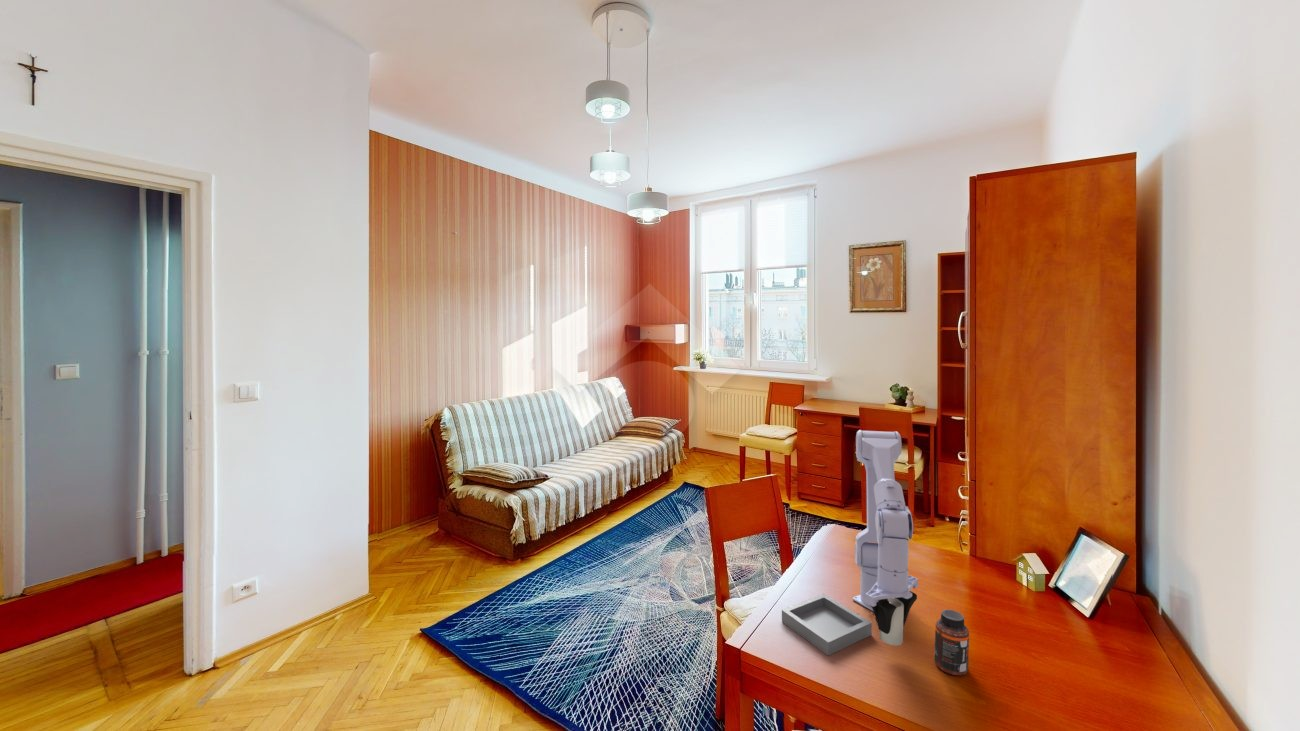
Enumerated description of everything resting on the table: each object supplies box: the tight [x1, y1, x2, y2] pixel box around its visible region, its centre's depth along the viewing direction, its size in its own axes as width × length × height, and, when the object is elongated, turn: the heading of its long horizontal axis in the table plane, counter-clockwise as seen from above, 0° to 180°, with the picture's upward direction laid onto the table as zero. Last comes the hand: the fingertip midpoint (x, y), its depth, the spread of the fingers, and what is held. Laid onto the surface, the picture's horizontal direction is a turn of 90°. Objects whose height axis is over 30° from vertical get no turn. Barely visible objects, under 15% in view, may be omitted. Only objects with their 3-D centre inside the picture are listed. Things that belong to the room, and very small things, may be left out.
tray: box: [781, 593, 873, 656], centre depth 115 cm, size 14×14×3 cm
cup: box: [879, 598, 904, 646], centre depth 104 cm, size 4×4×8 cm
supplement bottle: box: [934, 609, 970, 676], centre depth 101 cm, size 6×6×11 cm
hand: (891, 627), depth 104 cm, fingers closed on cup, 4 cm apart
